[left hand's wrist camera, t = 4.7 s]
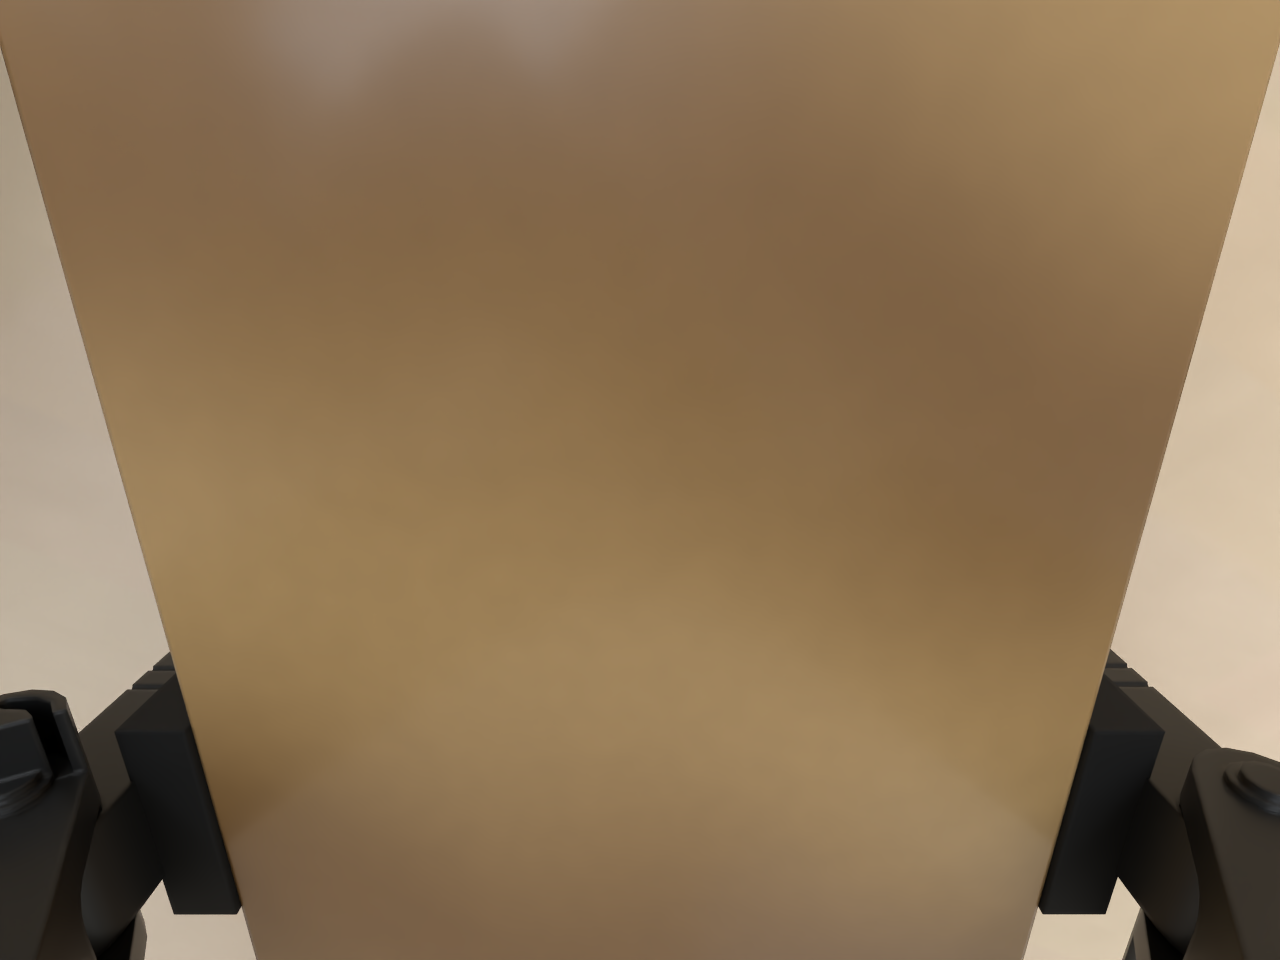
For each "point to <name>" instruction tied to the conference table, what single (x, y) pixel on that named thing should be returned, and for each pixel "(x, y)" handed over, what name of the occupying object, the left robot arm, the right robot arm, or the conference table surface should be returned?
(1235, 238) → the conference table surface
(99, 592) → the conference table surface
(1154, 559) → the conference table surface
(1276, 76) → the conference table surface
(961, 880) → the beam
